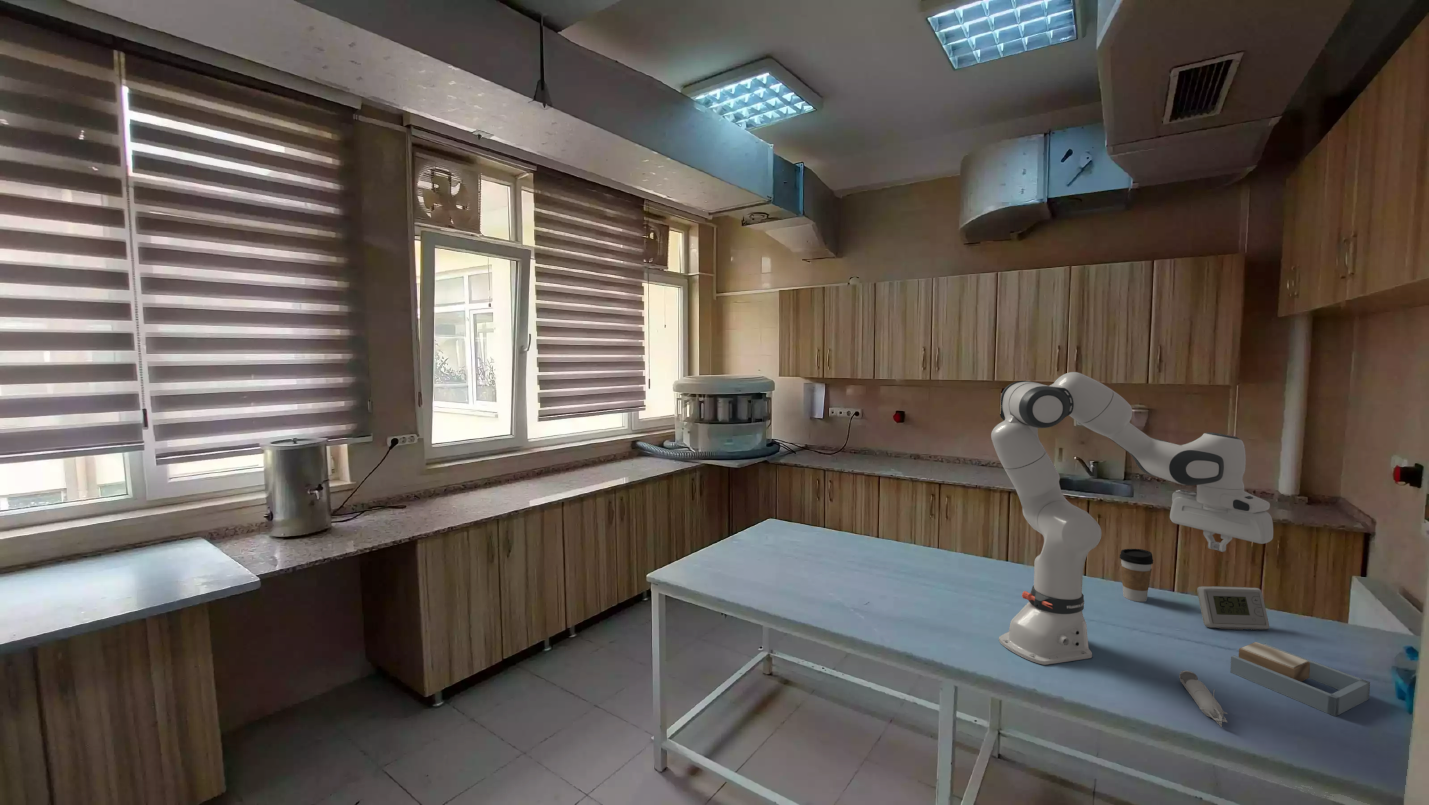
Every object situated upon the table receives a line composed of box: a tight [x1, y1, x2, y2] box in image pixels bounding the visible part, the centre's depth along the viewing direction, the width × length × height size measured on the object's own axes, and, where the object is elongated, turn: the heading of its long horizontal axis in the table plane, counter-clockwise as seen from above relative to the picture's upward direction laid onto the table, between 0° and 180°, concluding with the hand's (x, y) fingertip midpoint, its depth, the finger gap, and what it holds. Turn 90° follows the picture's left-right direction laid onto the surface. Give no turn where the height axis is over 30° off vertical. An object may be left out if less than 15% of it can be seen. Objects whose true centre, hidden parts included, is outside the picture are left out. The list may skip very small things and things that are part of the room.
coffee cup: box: [1119, 548, 1154, 603], centre depth 173 cm, size 8×8×15 cm
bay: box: [1229, 643, 1371, 717], centre depth 128 cm, size 14×18×4 cm
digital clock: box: [1196, 585, 1270, 631], centre depth 155 cm, size 16×9×11 cm, turn 70°
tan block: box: [1238, 641, 1310, 683], centre depth 132 cm, size 7×10×5 cm
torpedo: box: [1179, 670, 1228, 728], centre depth 122 cm, size 18×5×7 cm, turn 158°
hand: (1216, 549), depth 141 cm, fingers closed
